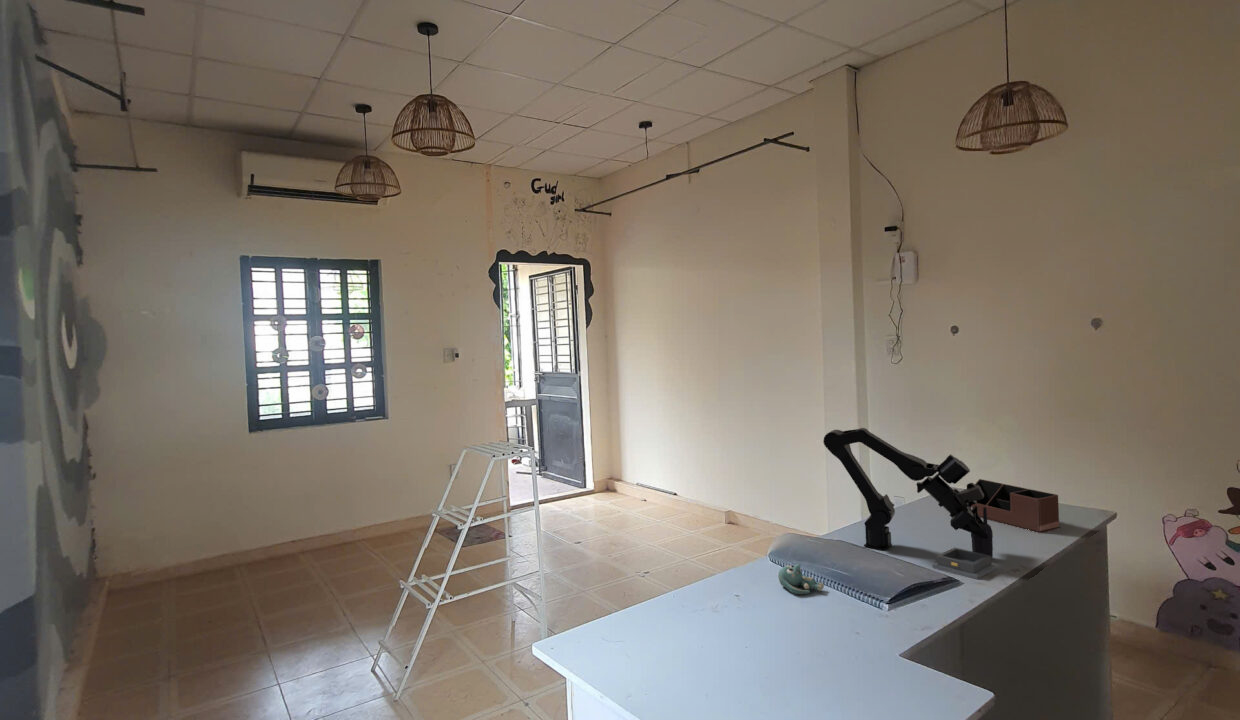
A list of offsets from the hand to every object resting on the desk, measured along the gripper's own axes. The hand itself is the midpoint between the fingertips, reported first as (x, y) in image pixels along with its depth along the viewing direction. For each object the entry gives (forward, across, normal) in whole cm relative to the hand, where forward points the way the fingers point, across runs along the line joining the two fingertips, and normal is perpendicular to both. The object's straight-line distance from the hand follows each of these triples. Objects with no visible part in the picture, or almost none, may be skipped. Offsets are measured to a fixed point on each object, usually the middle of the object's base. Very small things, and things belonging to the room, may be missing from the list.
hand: (988, 535), depth 182 cm
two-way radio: (+4, 0, +6) cm, 7 cm away
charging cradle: (+1, -10, +9) cm, 13 cm away
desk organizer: (+8, +44, +3) cm, 45 cm away
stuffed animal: (-24, -42, +35) cm, 60 cm away
